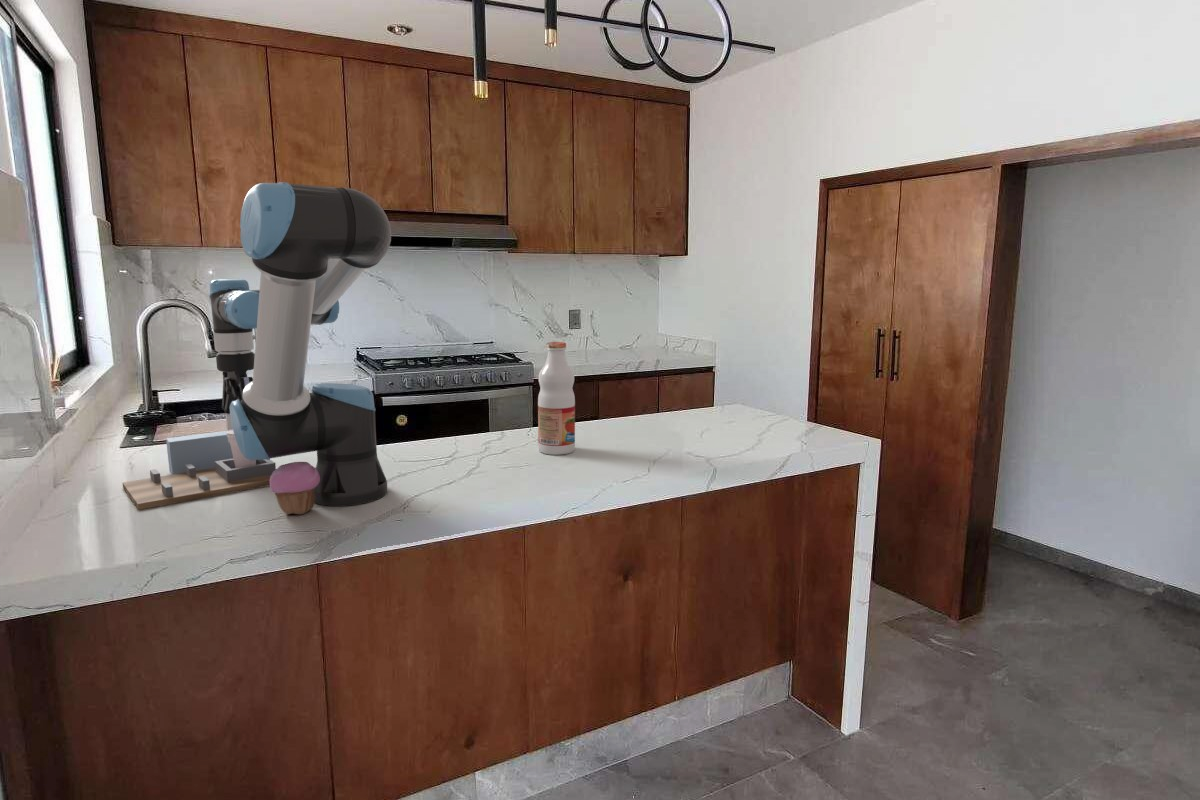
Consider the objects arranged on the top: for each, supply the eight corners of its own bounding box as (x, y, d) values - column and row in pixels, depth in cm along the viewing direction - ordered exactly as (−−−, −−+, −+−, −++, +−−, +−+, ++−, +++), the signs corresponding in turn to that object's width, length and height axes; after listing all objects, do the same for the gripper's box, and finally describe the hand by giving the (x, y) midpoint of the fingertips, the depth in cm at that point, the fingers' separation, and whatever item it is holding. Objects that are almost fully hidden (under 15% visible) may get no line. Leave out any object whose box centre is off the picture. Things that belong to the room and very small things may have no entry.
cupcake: (328, 505, 144) (324, 456, 142) (312, 520, 135) (308, 468, 133) (282, 505, 143) (279, 456, 141) (264, 520, 135) (260, 468, 133)
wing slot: (210, 489, 149) (209, 480, 148) (166, 497, 144) (165, 487, 143) (191, 472, 161) (190, 463, 160) (150, 479, 156) (149, 470, 155)
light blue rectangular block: (236, 462, 174) (233, 429, 173) (240, 466, 171) (237, 433, 169) (169, 472, 165) (165, 438, 164) (173, 476, 162) (169, 442, 160)
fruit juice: (537, 446, 190) (536, 340, 185) (573, 445, 191) (573, 340, 186) (539, 456, 181) (538, 344, 176) (576, 455, 182) (576, 344, 177)
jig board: (287, 482, 158) (287, 477, 158) (138, 509, 140) (137, 503, 140) (262, 464, 171) (261, 459, 171) (123, 487, 153) (122, 482, 153)
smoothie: (227, 477, 157) (221, 414, 154) (233, 469, 163) (228, 409, 160) (259, 475, 158) (254, 413, 156) (264, 468, 164) (259, 407, 162)
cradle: (276, 473, 160) (275, 462, 160) (227, 482, 154) (226, 471, 153) (262, 464, 167) (261, 453, 167) (215, 472, 161) (214, 461, 161)
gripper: (271, 356, 149) (279, 455, 153) (237, 345, 167) (245, 434, 171) (232, 359, 144) (241, 461, 148) (201, 347, 162) (210, 439, 166)
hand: (243, 447), depth 159 cm, fingers open, 13 cm apart
